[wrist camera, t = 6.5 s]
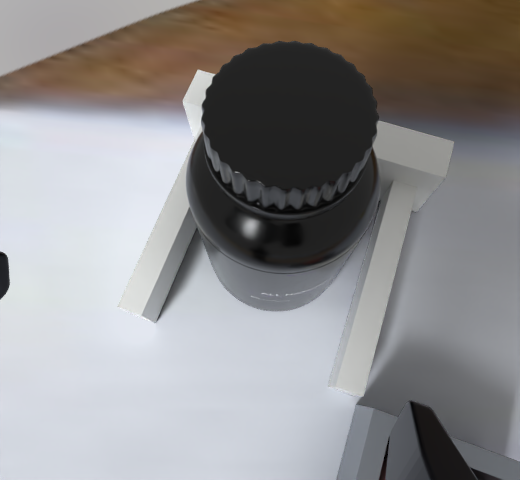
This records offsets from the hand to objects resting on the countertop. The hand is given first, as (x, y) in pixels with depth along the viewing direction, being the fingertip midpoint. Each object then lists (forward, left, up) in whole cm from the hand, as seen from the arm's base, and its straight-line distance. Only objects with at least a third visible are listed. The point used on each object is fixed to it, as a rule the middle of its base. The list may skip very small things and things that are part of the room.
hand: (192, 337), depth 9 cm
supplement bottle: (+5, -4, -13) cm, 14 cm away
